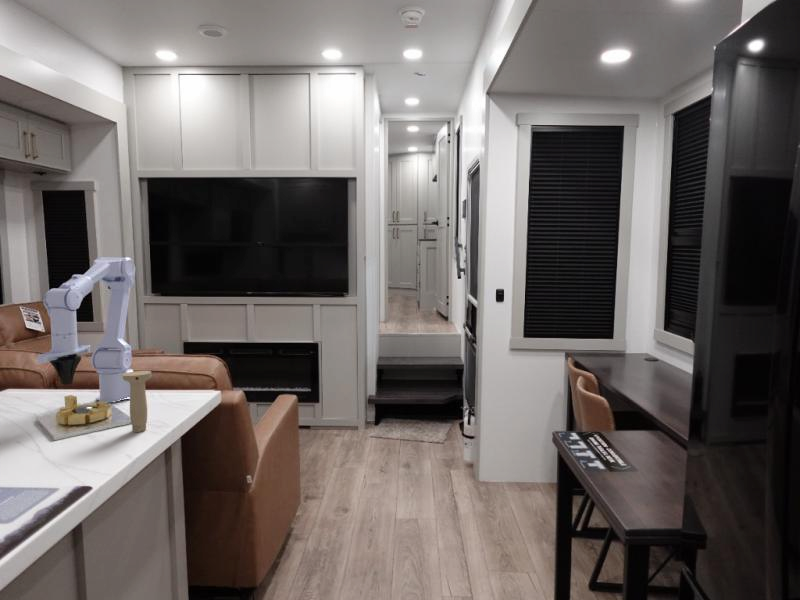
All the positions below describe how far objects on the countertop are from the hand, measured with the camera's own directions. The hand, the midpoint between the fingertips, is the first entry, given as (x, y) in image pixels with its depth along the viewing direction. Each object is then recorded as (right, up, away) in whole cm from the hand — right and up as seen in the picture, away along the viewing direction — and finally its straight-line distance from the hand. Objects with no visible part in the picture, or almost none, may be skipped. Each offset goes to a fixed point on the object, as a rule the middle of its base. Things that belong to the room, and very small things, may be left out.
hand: (66, 383), depth 134 cm
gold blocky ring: (+3, -9, +1) cm, 10 cm away
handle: (+22, -11, -5) cm, 25 cm away
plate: (+4, -10, +1) cm, 11 cm away
